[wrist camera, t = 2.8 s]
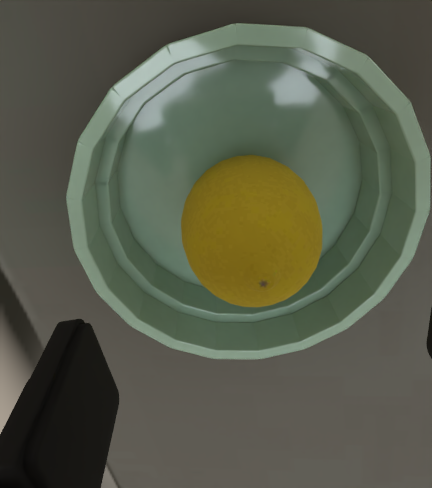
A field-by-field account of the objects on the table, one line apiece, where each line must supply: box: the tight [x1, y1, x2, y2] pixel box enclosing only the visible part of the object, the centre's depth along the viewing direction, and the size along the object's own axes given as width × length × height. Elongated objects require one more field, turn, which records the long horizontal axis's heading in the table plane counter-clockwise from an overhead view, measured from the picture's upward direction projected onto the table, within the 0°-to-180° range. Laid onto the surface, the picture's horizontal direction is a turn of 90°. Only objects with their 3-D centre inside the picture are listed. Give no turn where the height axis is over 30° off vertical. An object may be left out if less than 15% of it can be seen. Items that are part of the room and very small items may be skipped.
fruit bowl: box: [66, 23, 431, 359], centre depth 17 cm, size 14×14×4 cm
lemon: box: [181, 155, 322, 307], centre depth 15 cm, size 6×6×8 cm
